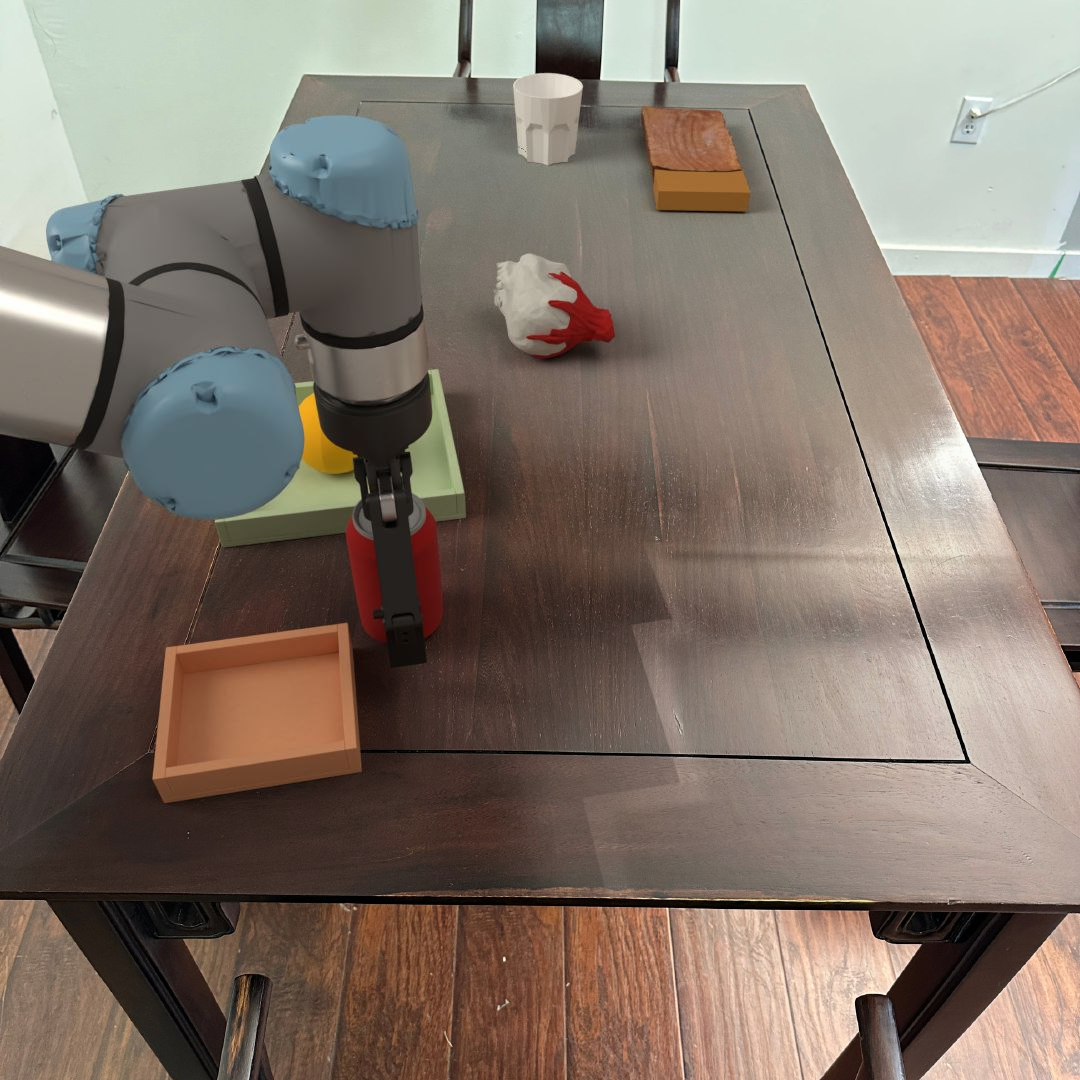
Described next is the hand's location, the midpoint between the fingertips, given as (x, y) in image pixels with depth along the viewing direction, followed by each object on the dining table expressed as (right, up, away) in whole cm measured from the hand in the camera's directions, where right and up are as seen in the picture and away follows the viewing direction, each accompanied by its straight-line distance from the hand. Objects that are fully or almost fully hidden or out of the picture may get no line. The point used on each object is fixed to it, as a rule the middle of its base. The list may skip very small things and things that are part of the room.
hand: (400, 596), depth 77 cm
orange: (-8, +12, +16) cm, 21 cm away
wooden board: (+33, +60, +66) cm, 95 cm away
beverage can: (0, -2, +2) cm, 3 cm away
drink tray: (-9, -9, -5) cm, 14 cm away
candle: (+12, +27, +32) cm, 43 cm away
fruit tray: (-8, +12, +16) cm, 22 cm away
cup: (+12, +63, +69) cm, 94 cm away
